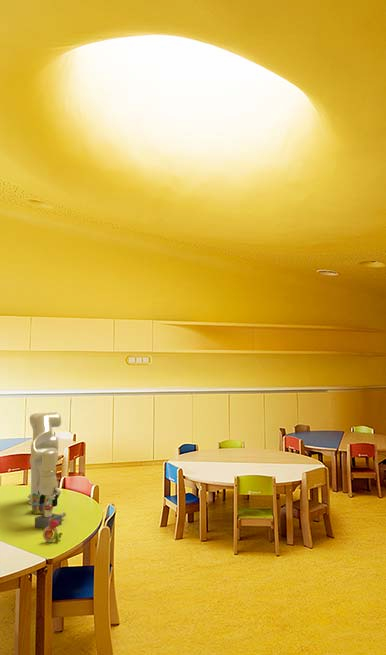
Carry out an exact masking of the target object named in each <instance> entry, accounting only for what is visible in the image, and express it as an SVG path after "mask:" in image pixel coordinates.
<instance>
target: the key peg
mask: <svg viewBox="0 0 386 655" xmlns="http://www.w3.org/2000/svg"><path fill="white" fill-rule="evenodd" d="M52 508H53V509H54V507H52V505H45V506H44V509H45V517H44V518H51V517H52V513H53V510H52Z"/></svg>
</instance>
